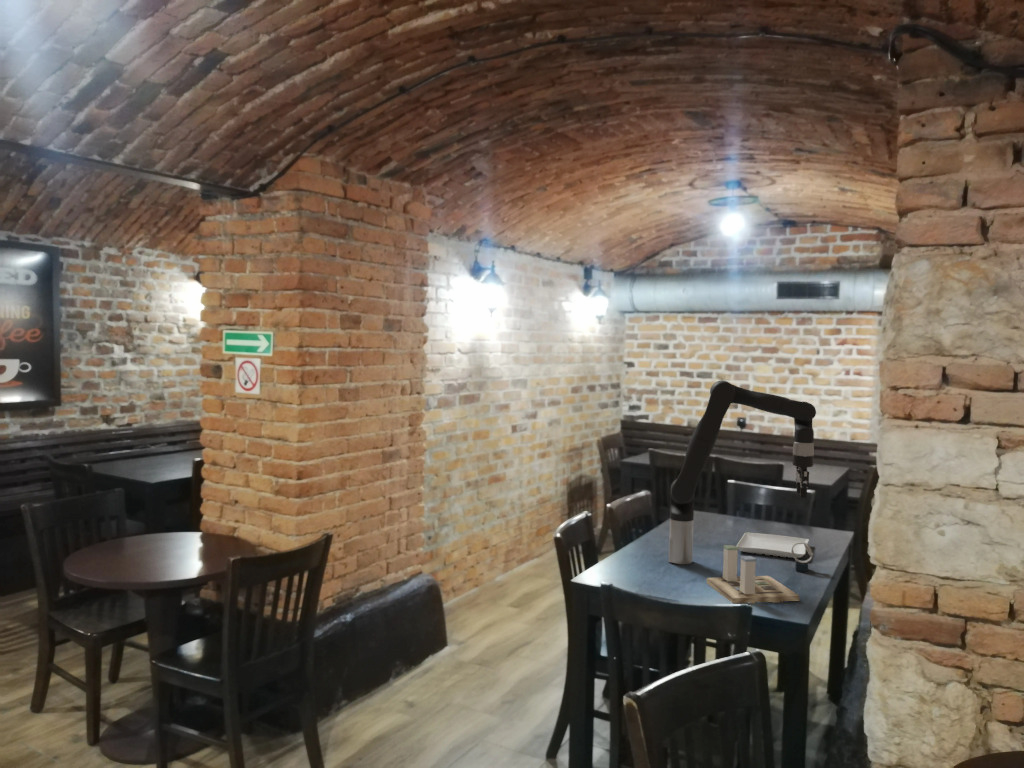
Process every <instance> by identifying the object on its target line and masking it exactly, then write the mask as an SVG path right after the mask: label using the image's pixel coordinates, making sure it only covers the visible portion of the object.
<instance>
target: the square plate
mask: <svg viewBox="0 0 1024 768" xmlns="http://www.w3.org/2000/svg"><path fill="white" fill-rule="evenodd" d="M800 541H802V542H805V543H808V544H809V542H810V539H809V538H801V537H795V536H789V535H788V536H787V535H779V534H771V533H770V534H769V533H757V532H744V534H743V535H742V537H741V538H740V540H739V541H738V543H737V544H736V545H735V546H736V547H737V548H738V550H739V551H740V552H744V553H749V554H754V553H756V554H755V555H762V554H765V555H764V556H770V555H773V556H772V557H778V556H780V557H779V558H786V557H788V558H787V559H794V557H793V555H792V551H791V550H792V546H793V544H795V543H796V542H800ZM793 551H794V554H795V556H796V557H797V559H800V558H803V556H805V555H806V552H807V550H806V548H805V546H804V544H797V545H795V546H794V548H793Z"/></svg>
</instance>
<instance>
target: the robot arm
mask: <svg viewBox="0 0 1024 768" xmlns="http://www.w3.org/2000/svg"><path fill="white" fill-rule="evenodd" d="M709 390H710V391H709V394H710V395H709V398H708V402H707V405H706V409H705V412H704V413H703V415H702V417H701V418H700V420H699V421H698V423H697V425H696V427H695V429H694V431H693V433H692V435H691V437H690V440H689V442H688V446H687V449H686V453H685V457H684V461H683V464H682V467H681V470H680V473H679V474H678V476H677V478H675V480H673V481H672V482H671V485H670V492H669V493H670V494H669V495H670V498H669V499H670V500H669V533H668V534H669V538H668V563H673V564H676V565H689V564H692V563H693V554H694V553H693V552H694V551H693V545H694V519H695V518H694V517H695V514H694V513H695V512H694V511H695V510H694V509H695V506H694V504H695V503H694V502H695V498H694V497H695V493H696V489H697V486H698V482H699V479H700V476H701V473H702V472H703V470H704V468H705V466H706V465H707V462H708V460H709V458H710V456H711V453H712V451H713V449H714V447H715V445H716V443H717V439H718V436H719V433H720V431H721V426H722V423H723V420H724V417H725V415H726V413H727V411H728V410H729V408H730V406H731V404H736V405H743V406H747V407H750V408H753V409H756V410H759V411H762V412H766V413H770V414H775V415H779V416H785V417H789V418H792V419H793V420H794V422H793V423H794V432H793V433H794V434H793V445H792V466H794V467H795V468H796V469H795V481H796V493H797V494H799V495H800V498H802V499H807V498H808V497H807V495H808V488H809V486H810V484H809V483H810V472H809V471H808V468H812V467H813V466H814V457H815V449H814V448H815V445H814V437H815V435H814V433H815V432H814V428H813V420H814V418H815V417H816V414H817V411H816V410H817V409H816V408H815V406H814V405H813V404H812V403H810V402H807V401H801V400H800V401H799V400H794V399H789V398H788V397H784V396H780V395H776V394H772V393H766V392H759V391H754V390H749V389H746V388H744V387H743V388H742V387H739V386H737V385H735V384H732V383H730V382H729V381H726V380H718V381H715V382H714V383H713V384H712V385H711V387H710V389H709Z"/></svg>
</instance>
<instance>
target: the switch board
mask: <svg viewBox="0 0 1024 768" xmlns="http://www.w3.org/2000/svg"><path fill="white" fill-rule="evenodd" d="M706 584H707V585H708V586H710V588H712V589H713V590H714V591H715V592H716V593H718V592H719V593H720V594H719V593H718V594H719V595H720V596H722V595H723V596H724V597H725V599H726V598H727V599H728V600H729V601H731V602H732V603H748V602H751V603H750V604H756V603H755V602H773V603H784V602H783V601H799V602H800V595H799V594H798V593H796V592H794V591H793V590H792V589H789V588H788V587H787V586H785V585H784V584H782V583H780V582H779V581H777V580H776V579H774V578H773V577H771V576H770V575H755V594H744V593H742V592H741V591H740V590H739V587H740V576H737V581H726V580H725V579H724V578H722V576H720V577H719V576H717V577H706ZM723 596H722V597H723ZM724 597H723V598H724ZM727 599H726V600H727ZM728 600H727V601H728ZM729 601H728V602H729ZM780 601H781V602H780ZM731 602H730V603H731ZM732 603H731V604H732ZM748 604H749V603H748Z"/></svg>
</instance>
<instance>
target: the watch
mask: <svg viewBox="0 0 1024 768" xmlns="http://www.w3.org/2000/svg"><path fill="white" fill-rule="evenodd" d="M797 544H804V546H805V548H806V552H807V553H808V555H809V558H807V559H806V560H802V559H799V558H797V557H796V556H795V554H794V551H793V548H794V546H795V545H797ZM791 551H792V555H793V557H794V558H793V559H794V560H795V562H794V563H795V564H794V568H795V569H796V570H795V572H796V571H797V573H805V572H808V573H809V563H808V562H811V560H812V559H813V556H814V552H813V550H812V548H811V546H810V544H809V542H808V543H805V542H802V541H800V542H796V543H795V544H793V546H792V550H791Z"/></svg>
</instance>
